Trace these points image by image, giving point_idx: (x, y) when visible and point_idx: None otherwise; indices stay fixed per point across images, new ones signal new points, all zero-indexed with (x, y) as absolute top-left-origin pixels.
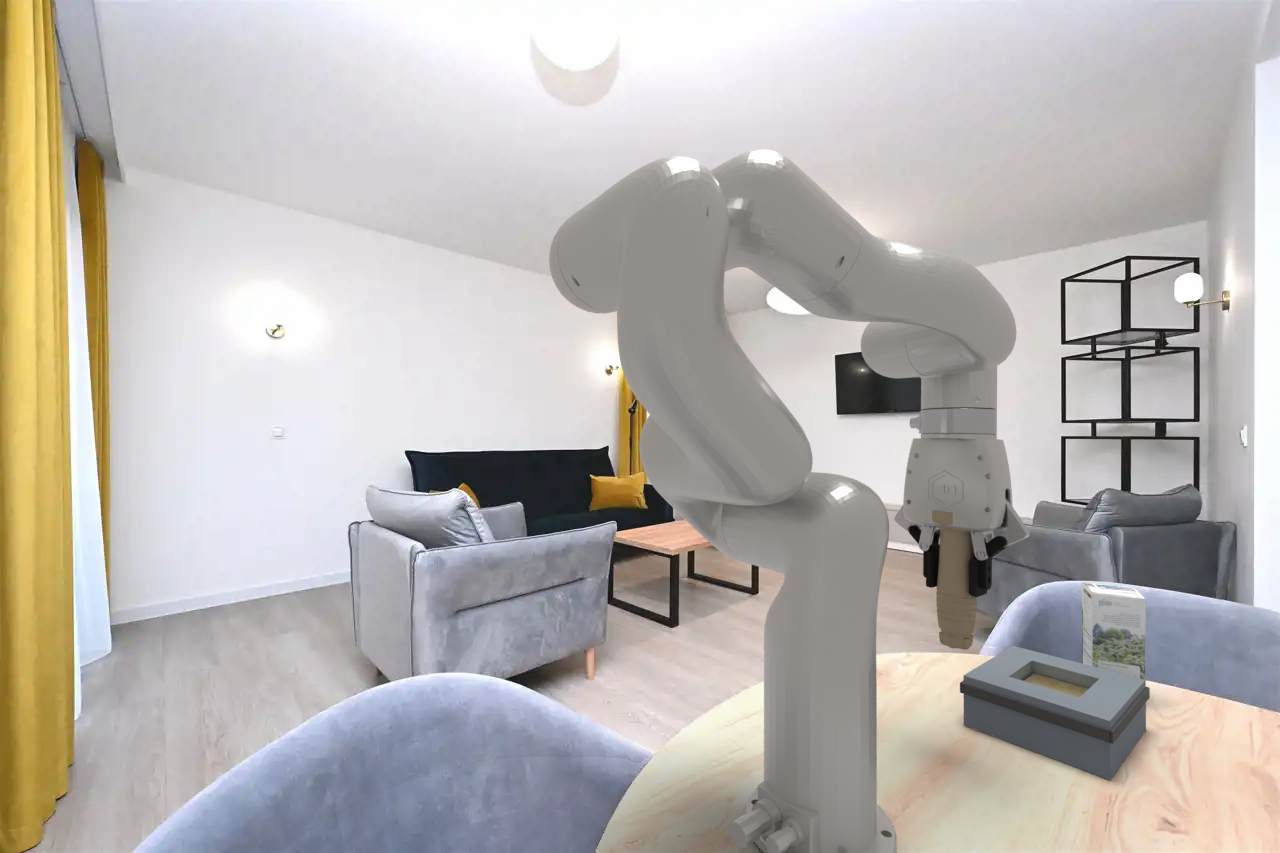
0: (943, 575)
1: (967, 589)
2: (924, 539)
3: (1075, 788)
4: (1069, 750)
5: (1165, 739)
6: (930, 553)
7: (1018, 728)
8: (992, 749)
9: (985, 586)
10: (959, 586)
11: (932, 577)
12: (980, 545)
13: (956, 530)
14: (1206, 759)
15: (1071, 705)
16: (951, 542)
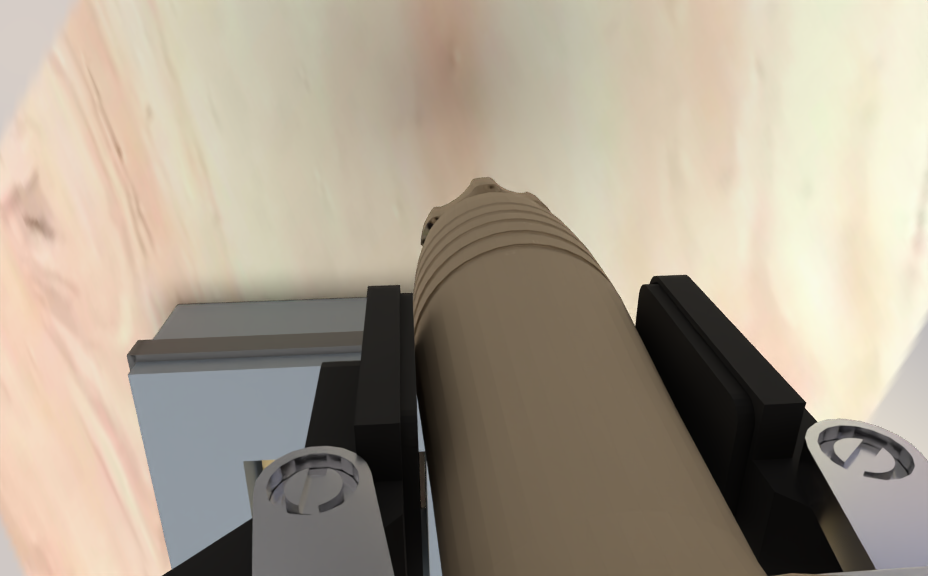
0: (592, 313)
1: (433, 322)
2: (904, 497)
3: (205, 206)
4: (251, 317)
5: None
6: (763, 401)
7: (364, 316)
8: (399, 229)
9: (325, 363)
10: (471, 295)
11: (665, 307)
12: (305, 553)
13: None
14: (110, 546)
15: (231, 394)
16: (609, 502)
